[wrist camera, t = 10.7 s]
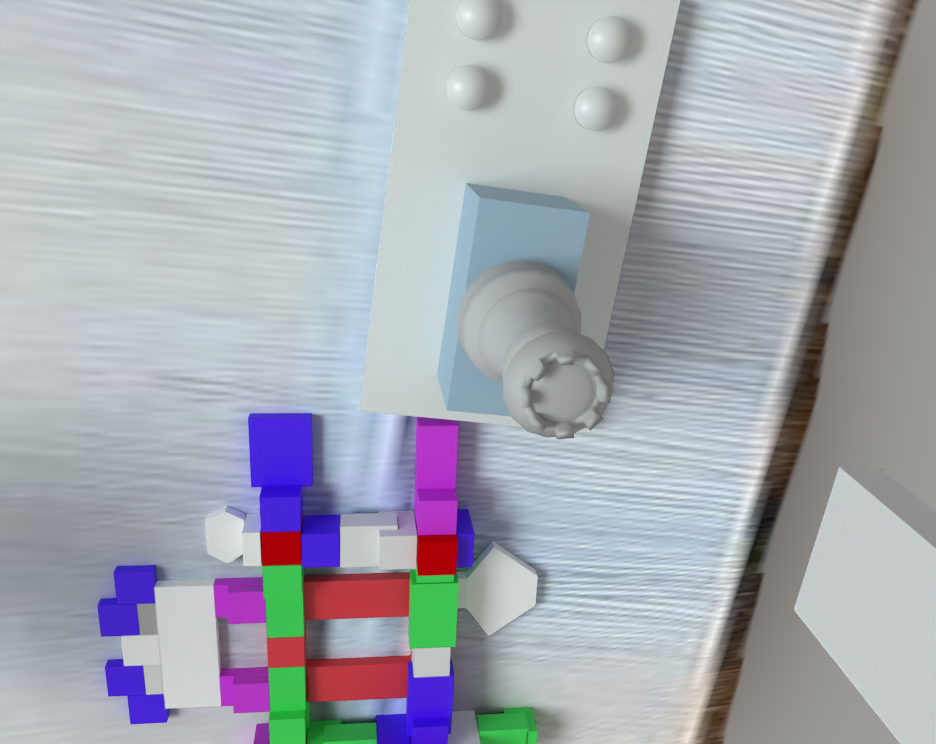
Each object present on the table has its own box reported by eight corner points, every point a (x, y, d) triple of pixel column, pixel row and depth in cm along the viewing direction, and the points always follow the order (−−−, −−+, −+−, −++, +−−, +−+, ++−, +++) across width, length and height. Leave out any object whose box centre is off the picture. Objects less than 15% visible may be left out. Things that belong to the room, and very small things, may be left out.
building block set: (83, 408, 35) (46, 454, 31) (555, 407, 38) (579, 449, 34) (134, 849, 44) (111, 931, 40) (518, 822, 46) (534, 897, 42)
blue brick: (465, 183, 33) (479, 197, 29) (563, 196, 33) (590, 213, 29) (436, 374, 35) (446, 410, 31) (528, 383, 36) (548, 420, 32)
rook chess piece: (586, 266, 30) (662, 331, 23) (560, 381, 32) (624, 477, 24) (466, 248, 29) (502, 309, 22) (445, 367, 31) (473, 462, 23)
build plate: (415, -53, 30) (418, -60, 29) (671, -4, 32) (687, -7, 31) (359, 402, 36) (359, 416, 35) (580, 424, 38) (589, 438, 36)
